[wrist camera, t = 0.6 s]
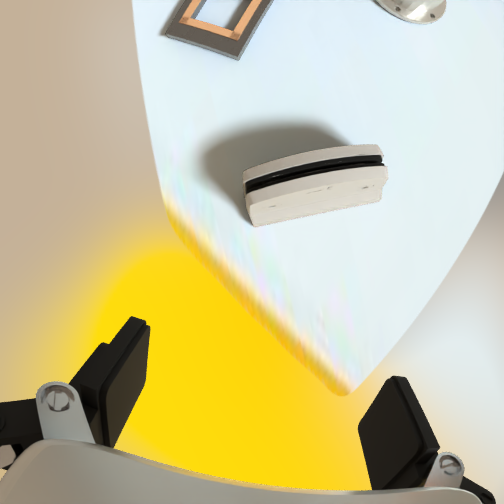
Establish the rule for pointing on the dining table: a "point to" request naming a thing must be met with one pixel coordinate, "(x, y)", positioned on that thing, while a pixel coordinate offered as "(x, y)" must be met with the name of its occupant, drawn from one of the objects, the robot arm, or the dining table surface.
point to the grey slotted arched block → (314, 183)
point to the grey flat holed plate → (217, 28)
